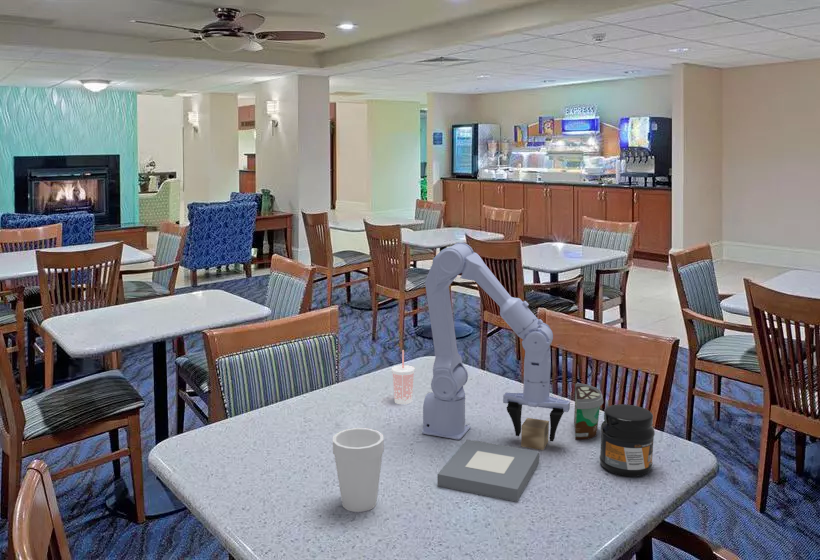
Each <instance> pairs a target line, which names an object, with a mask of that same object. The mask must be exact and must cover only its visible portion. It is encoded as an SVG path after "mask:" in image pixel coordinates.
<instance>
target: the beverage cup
mask: <svg viewBox="0 0 820 560" xmlns="http://www.w3.org/2000/svg"><path fill="white" fill-rule="evenodd" d="M401 358H402V359H401V360H402V361H401V362H402V363H401V364H399V365H395V366H392V367H391V369H390V370H391V374H392V382H393V395H394V396H393V397H394V403H395V404H397V405H402V406H404V405H403V404H405V405H409V403H410V404H411V403H413V392H414V375H415V372H416V371H415V369H416V368H415V366H411V365H406V364H405V350H404V349H401Z"/></svg>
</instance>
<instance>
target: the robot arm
mask: <svg viewBox="0 0 820 560" xmlns="http://www.w3.org/2000/svg"><path fill="white" fill-rule="evenodd" d="M460 274H461V275H460ZM459 275H460V279H462V280H468V281H474V282H475V283H476V284H477V285H478V286H479V287H480V288H481V289H482V290H483V291H484V293H486V294H487V295H488V296H489V297H490V299H492V300H493V301H494V302H495V304H496V305H498V306H499V315H500V317H501V318H502V320H503V321H504V322H505V323H506V324H507V325H508V327H510V329H511V330H512V331H513V332H514V334H516V336H517V337H518V338H520V339H521V340H522V341H521V345H522V348H523V349H524V360H523V362H524V363H523V388H522V390H523V392H504V394H502V395H503V396H502V397H503V399H502V404H507V406H506V411H507V413H508V415H509V417H510V419H511V422H512V425H513V428H514V434H515V436H516V437H519V436H520V435H521V431H522V413H523V412H522V411H523V406H527V407H530V408H531V407H532V408H542V409H543V408H544V409H551V411H550V413H549V428H550V429H549V442H554V440H555V438H556V433H557V429H558V426H559V423H560V420H562V419H561V418H562V417H563V415H564V413H568V412H569V411H570V408H571V407H570V404H571V401H570V400H566V399H561V398H558V397H554V396H552V395H550V391H551V389H550V387H551V364H552V363H551V362H552V361H551V347H550V346H551V345H552V342H553V339H554V333H553V330H552V329H551V327H550V325H549V324H547V323H546V322H544V321H543V320H542V319H541V318H538V317H537V316H536V315H535V314H534V313H533V312H532V310H531V309H530V307H529V305H530V304H529V303H528V301H526V300H522V299H521V298H519V297H513V296H511V294H509V292H508V291H507V289H505V287H504V285H502V283H501V282H500V281H499V280H498V278H497V277H496V276H495V274H494V273H493V272H492V270H491V269H490V268H489V267H488V266H487V264H486V263H485V262H484V260H483V259H482V257H481V256H480V255H479V254H478V253H477V252H474V250H473V248H472V247H471V245H469V244H467V243H465V242H457V243H455V244H453V245H451V246H449V247H445V248H443V249H441V250H440V251H439V252H438V253H437V254H436V255H435V256H434V257H433V258H432V264H431V266H430V269H429V271H428V273H427V276H426V278H425V281H424V285H425V292H426V300H427V306H428V313H429V319H430V320H429V321H430V322H429V323H430V326H431V335H432V340H433V341H432V343H433V350H434V357H435V358H434V362H433V367H432V379H431V382H430V387H431V388H430V389H431V392H428V393H426V395H425V397H424V399H423V405H422V431H421V434H423V435H428V436H433V437H440V438H447V439H453V440H461V439H463V437H464V436H465V435H466V433H468V431H469V430H471V425H470V424H469V425H468V424H466V391H465V390H464V386H465V385H466V384H467V382H468V380H469V374H468V371H467V370H468V369H466V367H465V366H464V363H463V358H462V356H461V355H460V354H459V352H458V345H457V337H456V330H455V322H454V316H453V308H452V302H451V300H452V299H451V293H450V285H451V284H452V283H453V282H454V280H456V278H457V277H458V276H459Z"/></svg>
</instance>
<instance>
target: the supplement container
mask: <svg viewBox="0 0 820 560" xmlns="http://www.w3.org/2000/svg"><path fill="white" fill-rule="evenodd" d="M603 412H604V414H603V422H602V423H601V424H600V430H601V431H600V432H601V433H600V435H601V436H600V451H599V452H600V455H599V462H600V465H601V466H602V467H603V468H604V469H605V470H606V471H609V472H610V473H613V474H615V475H618V476H622V477H629V478H630V477H640V476H644V475H647V474H648V473H649V472H650V471H651V470H652V468H653V454H654V453H653V452H654V440H655V428H654V426H653V424H654V415H653V413H652V412H651V411H650V410H649V409H647V408H644V407H641V406H638V405H633V404H627V403H626V404H623V403H622V404H619V403H618V404H613V405H609V406H607V407H606V408H605V409H604V411H603Z"/></svg>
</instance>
